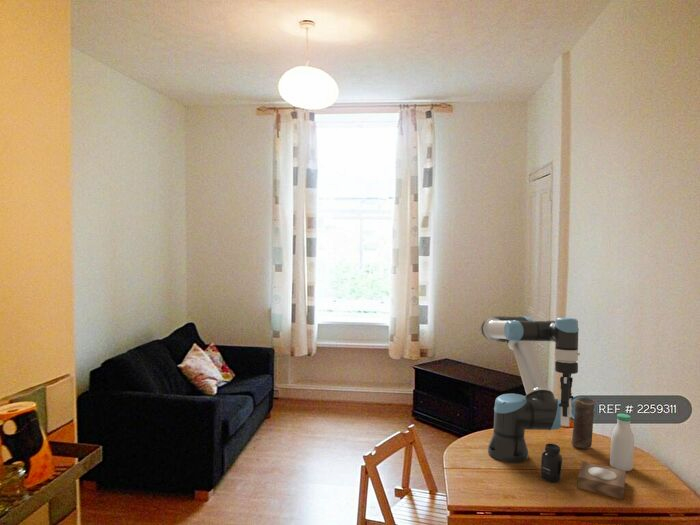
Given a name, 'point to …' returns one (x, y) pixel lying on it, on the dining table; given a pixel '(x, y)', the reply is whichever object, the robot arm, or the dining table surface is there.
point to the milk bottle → (622, 444)
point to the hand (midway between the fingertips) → (566, 421)
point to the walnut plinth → (602, 480)
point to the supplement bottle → (551, 464)
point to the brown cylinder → (583, 423)
